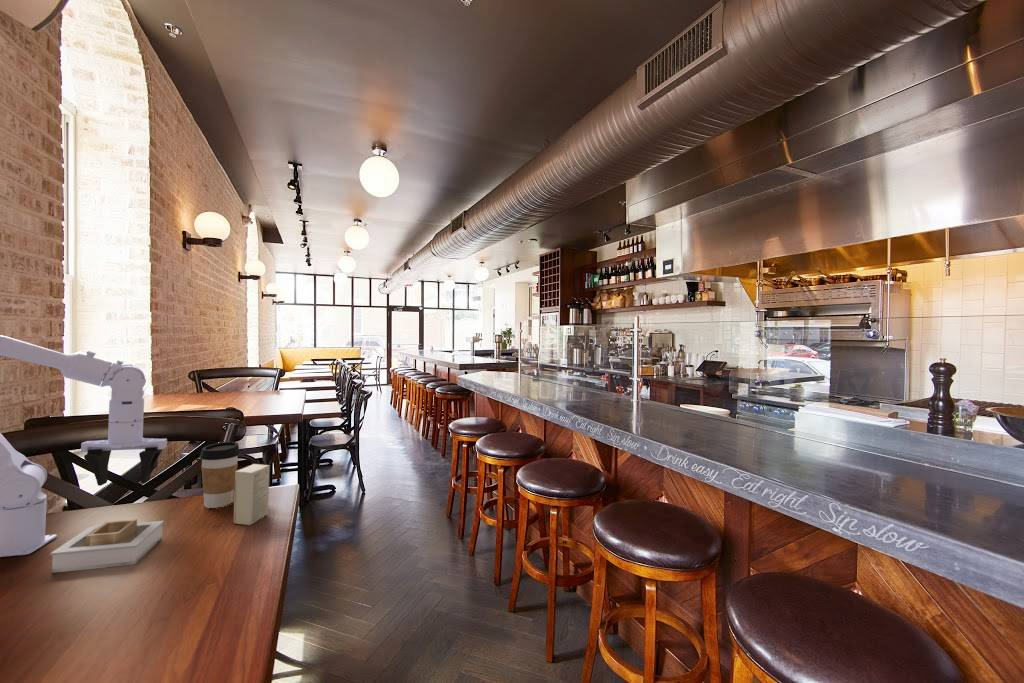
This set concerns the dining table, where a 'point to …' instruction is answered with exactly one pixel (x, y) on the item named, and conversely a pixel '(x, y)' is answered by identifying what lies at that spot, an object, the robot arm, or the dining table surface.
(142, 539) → the white square tray
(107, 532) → the birch crate
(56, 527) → the dining table surface
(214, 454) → the coffee cup
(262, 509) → the skincare box
